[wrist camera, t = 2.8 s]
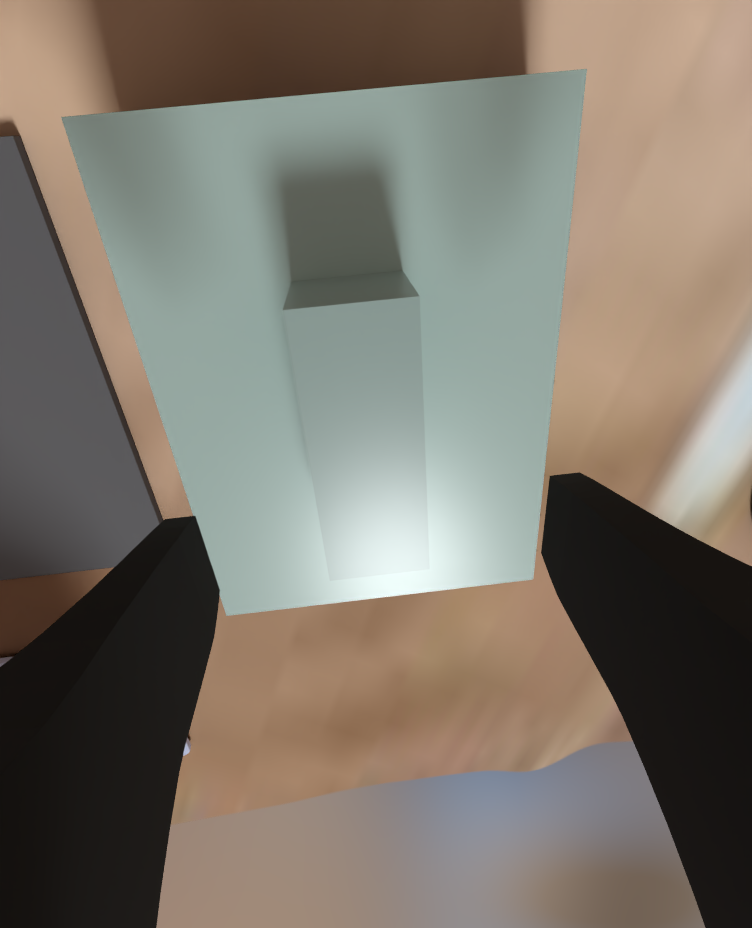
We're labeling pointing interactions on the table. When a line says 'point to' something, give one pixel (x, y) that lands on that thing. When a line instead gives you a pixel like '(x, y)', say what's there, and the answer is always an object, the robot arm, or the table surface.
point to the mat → (57, 406)
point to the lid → (348, 323)
